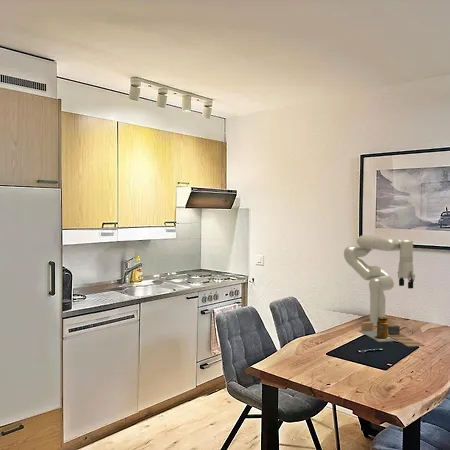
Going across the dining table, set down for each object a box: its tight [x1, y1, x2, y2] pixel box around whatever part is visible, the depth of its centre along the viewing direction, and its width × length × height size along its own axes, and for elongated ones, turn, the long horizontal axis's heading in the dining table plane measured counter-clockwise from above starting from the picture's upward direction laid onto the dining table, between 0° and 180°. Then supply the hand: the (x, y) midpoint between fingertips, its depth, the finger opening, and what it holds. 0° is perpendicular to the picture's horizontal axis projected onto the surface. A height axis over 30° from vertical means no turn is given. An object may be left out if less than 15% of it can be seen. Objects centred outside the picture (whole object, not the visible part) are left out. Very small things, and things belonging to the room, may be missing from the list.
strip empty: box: [388, 325, 425, 348], centre depth 259 cm, size 24×10×6 cm, turn 11°
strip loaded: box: [358, 321, 396, 343], centre depth 268 cm, size 24×10×6 cm, turn 11°
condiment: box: [371, 316, 390, 340], centre depth 261 cm, size 7×8×12 cm
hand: (406, 287), depth 275 cm, fingers open, 9 cm apart
